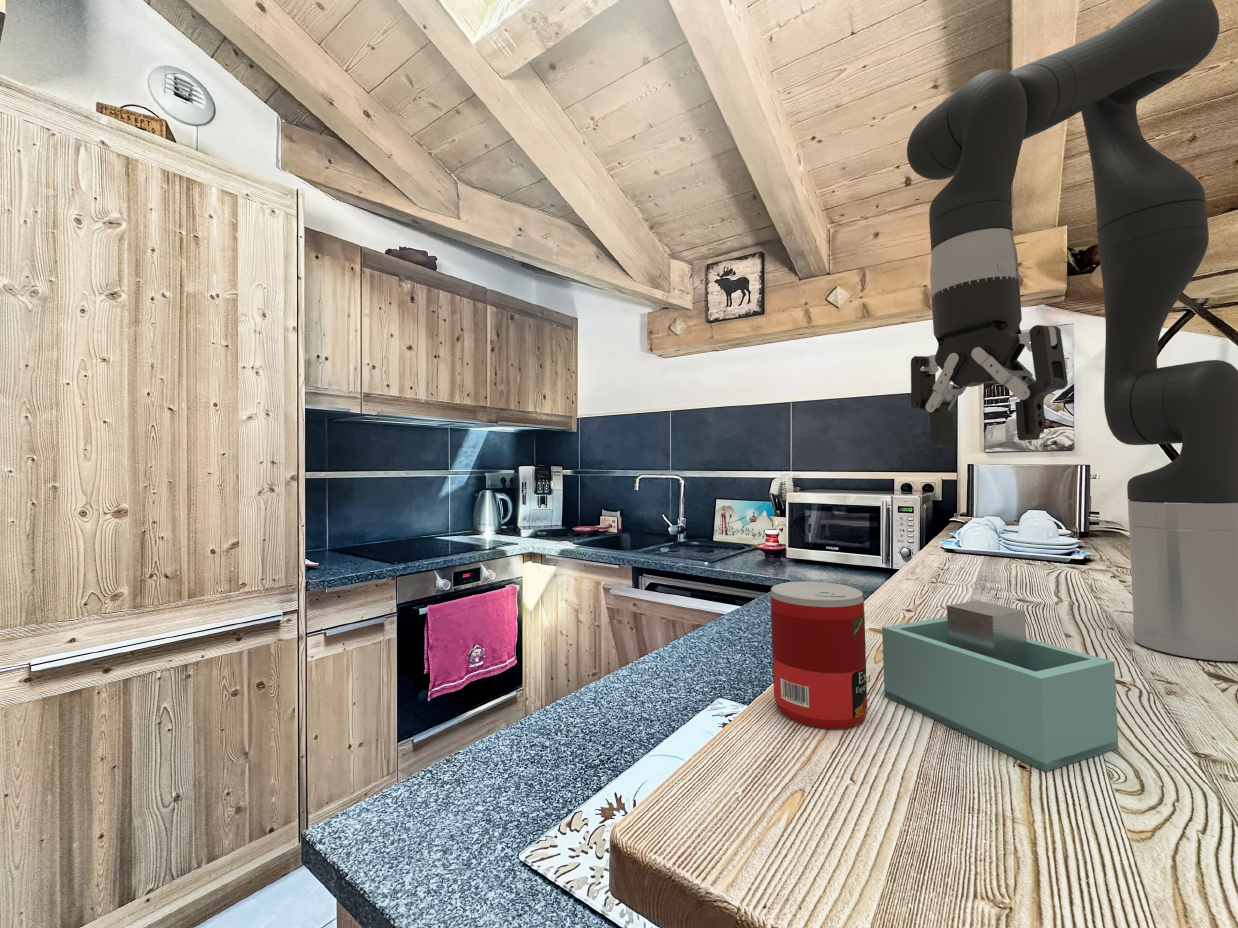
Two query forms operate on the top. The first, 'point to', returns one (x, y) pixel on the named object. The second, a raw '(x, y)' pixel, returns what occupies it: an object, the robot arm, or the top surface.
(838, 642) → the canned food
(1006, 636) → the grey upright brick
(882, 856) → the top surface
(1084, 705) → the box
